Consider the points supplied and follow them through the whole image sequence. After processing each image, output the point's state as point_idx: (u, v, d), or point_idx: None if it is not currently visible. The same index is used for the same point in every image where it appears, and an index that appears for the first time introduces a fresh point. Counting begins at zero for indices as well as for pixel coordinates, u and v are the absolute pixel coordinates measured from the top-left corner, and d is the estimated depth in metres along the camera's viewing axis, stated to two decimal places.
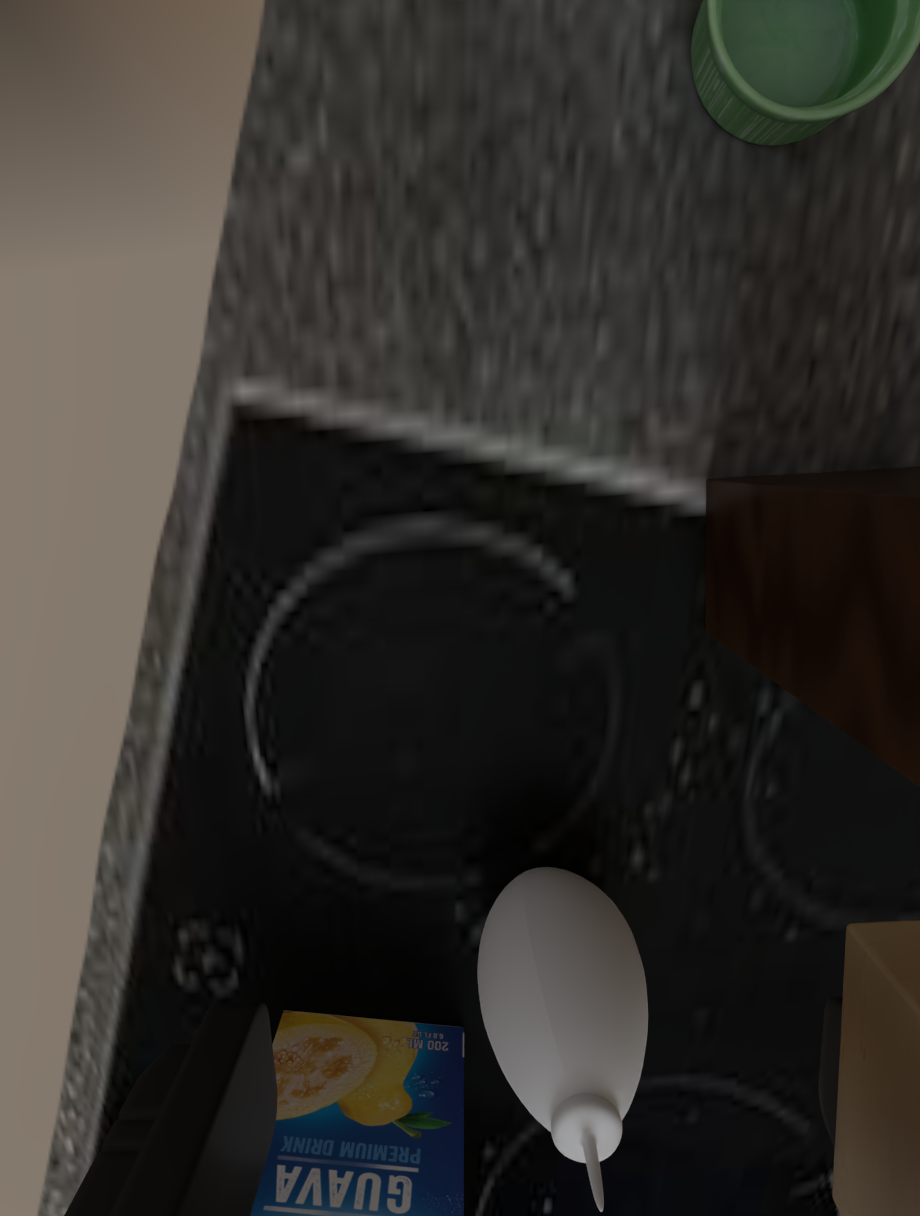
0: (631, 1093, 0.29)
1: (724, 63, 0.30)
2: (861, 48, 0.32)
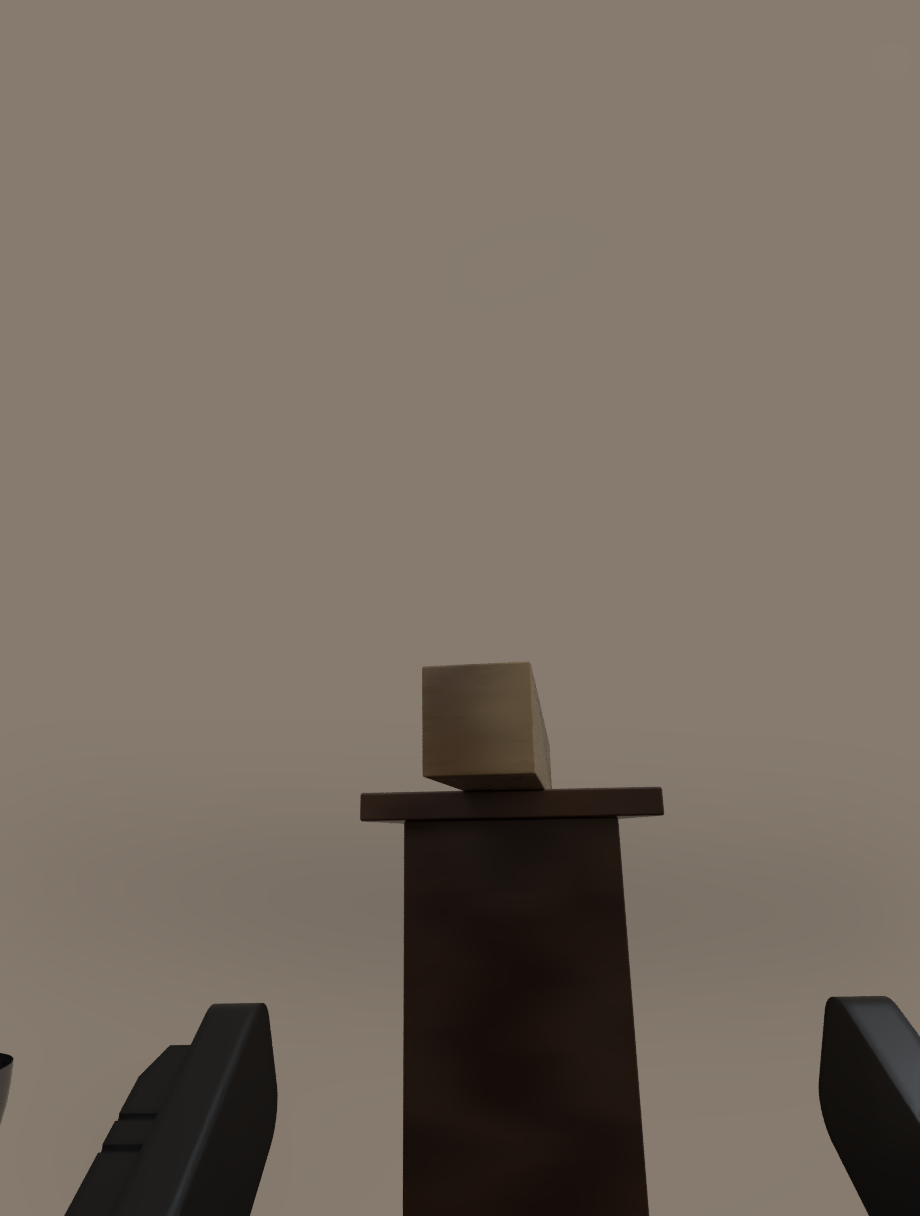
0: None
1: None
2: None
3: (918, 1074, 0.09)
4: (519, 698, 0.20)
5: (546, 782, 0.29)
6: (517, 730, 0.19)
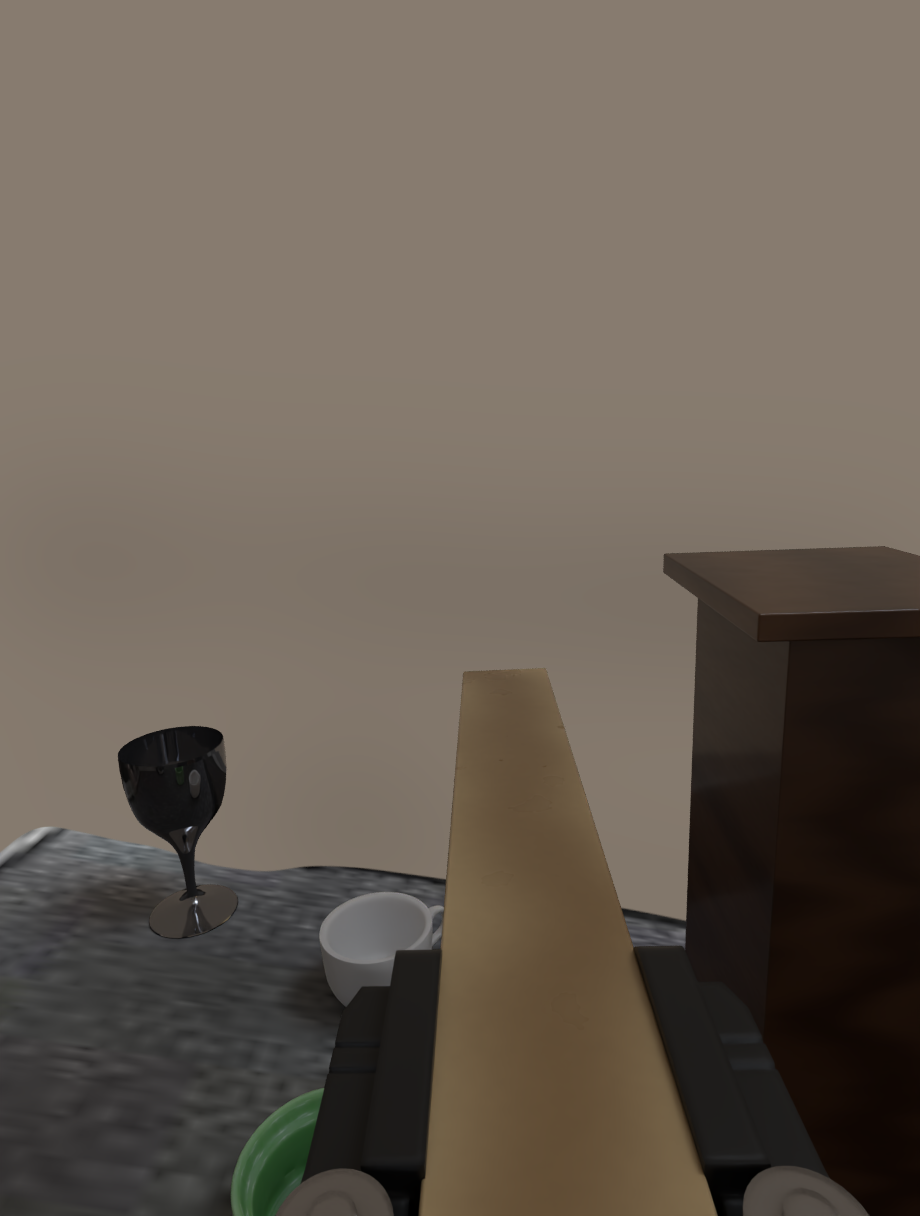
0: None
1: None
2: None
3: (683, 1008, 0.10)
4: None
5: None
6: None
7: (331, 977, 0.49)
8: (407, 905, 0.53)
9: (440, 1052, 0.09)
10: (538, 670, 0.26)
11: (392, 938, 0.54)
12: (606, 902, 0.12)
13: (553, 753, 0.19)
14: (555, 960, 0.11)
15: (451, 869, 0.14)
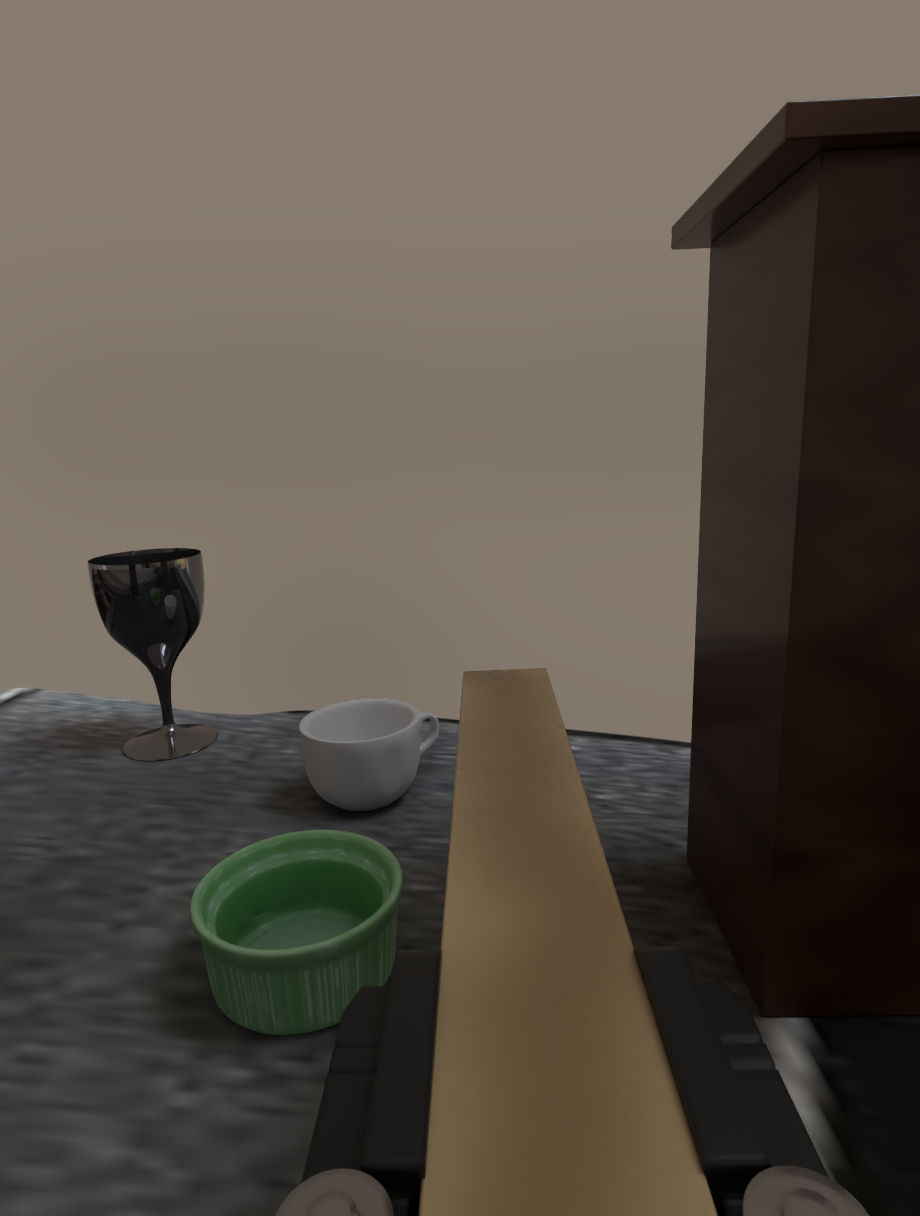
0: None
1: (332, 942, 0.28)
2: (331, 904, 0.36)
3: (683, 1008, 0.10)
4: None
5: None
6: None
7: (312, 767, 0.46)
8: (394, 708, 0.50)
9: (440, 1052, 0.09)
10: (538, 670, 0.26)
11: None
12: (606, 902, 0.12)
13: (553, 753, 0.19)
14: (555, 960, 0.11)
15: (451, 869, 0.14)
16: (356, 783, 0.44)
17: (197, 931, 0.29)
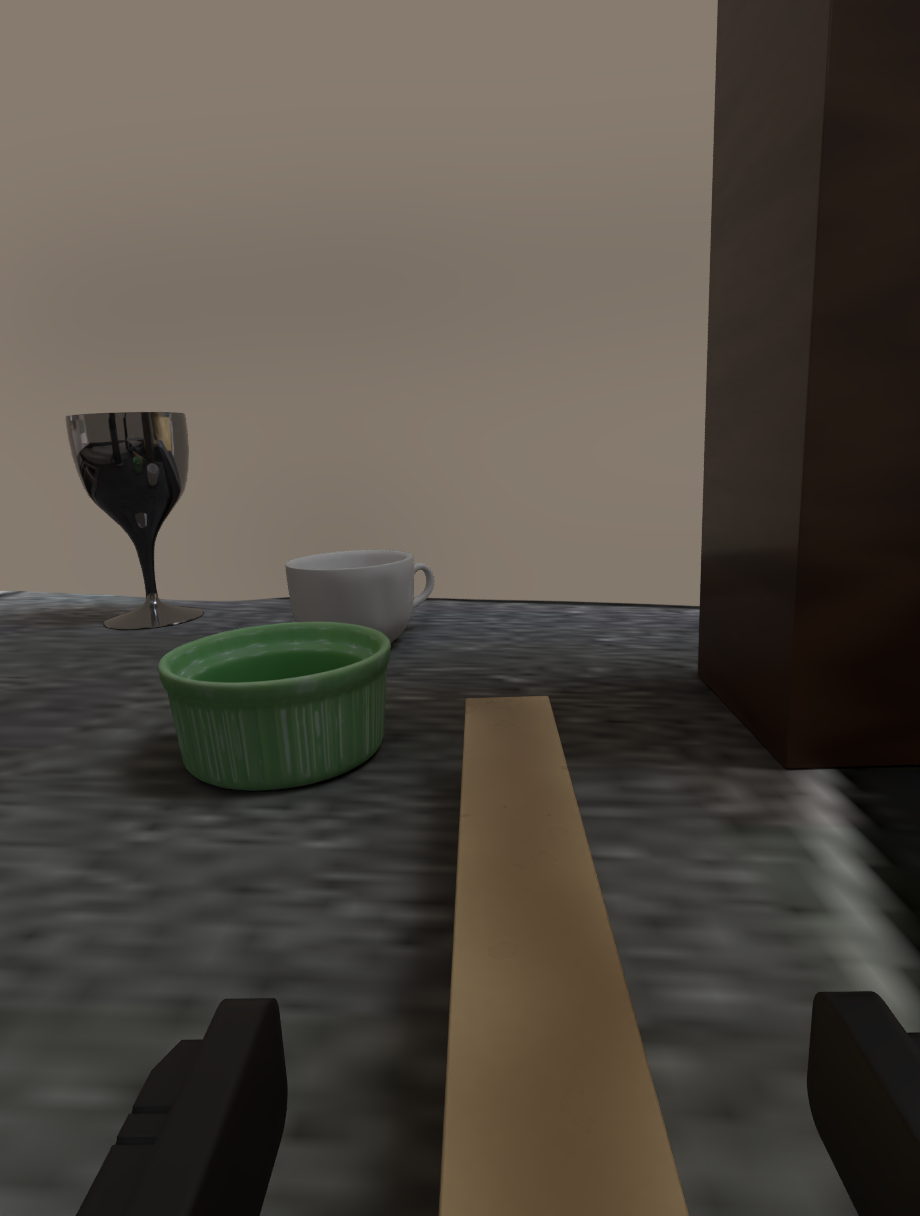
0: None
1: (311, 677, 0.25)
2: None
3: (903, 1068, 0.09)
4: None
5: None
6: None
7: (299, 603, 0.43)
8: (386, 558, 0.48)
9: (450, 1158, 0.09)
10: (541, 698, 0.26)
11: None
12: (613, 981, 0.12)
13: (557, 799, 0.19)
14: (562, 1049, 0.11)
15: (457, 937, 0.14)
16: (345, 615, 0.42)
17: (164, 677, 0.26)
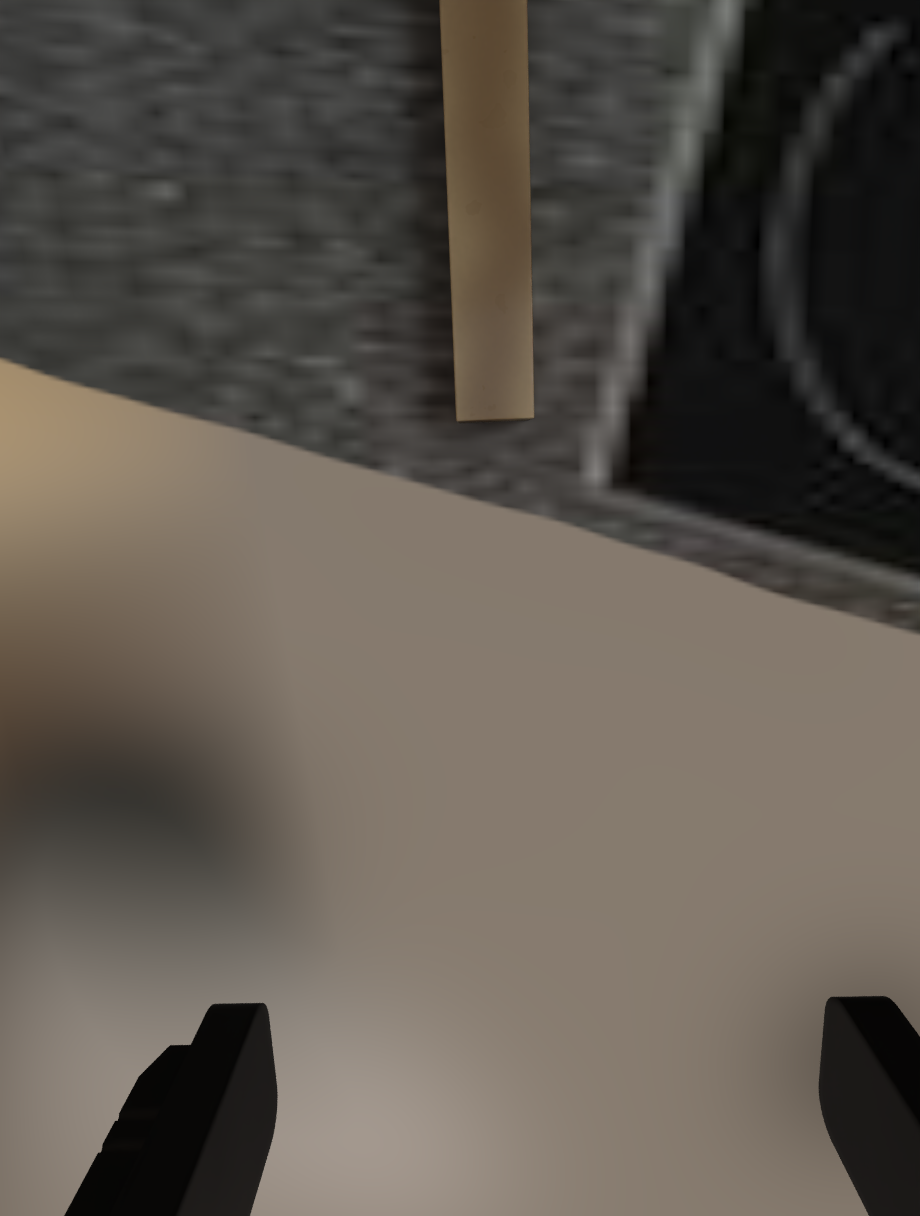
0: None
1: None
2: None
3: (918, 1074, 0.09)
4: (524, 419, 0.29)
5: None
6: None
7: None
8: None
9: (455, 325, 0.27)
10: None
11: None
12: (525, 230, 0.27)
13: (513, 25, 0.25)
14: (498, 273, 0.27)
15: (449, 197, 0.26)
16: None
17: None
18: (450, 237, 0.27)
